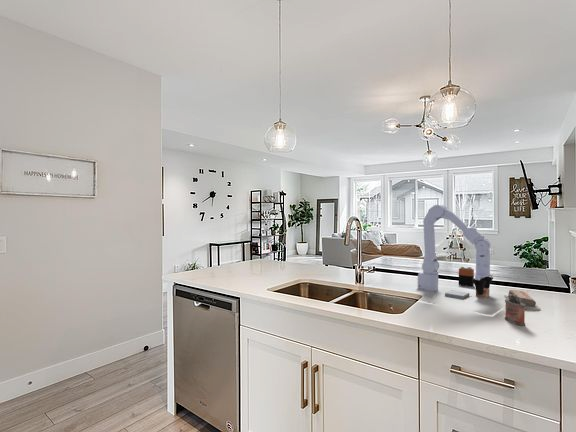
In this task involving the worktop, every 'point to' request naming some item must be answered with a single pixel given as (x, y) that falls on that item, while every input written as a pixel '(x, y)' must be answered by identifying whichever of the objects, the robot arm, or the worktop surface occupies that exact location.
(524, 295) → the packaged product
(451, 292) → the slate slab
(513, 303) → the red snack pouch
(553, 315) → the worktop surface
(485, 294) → the terracotta cube
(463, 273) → the battery
